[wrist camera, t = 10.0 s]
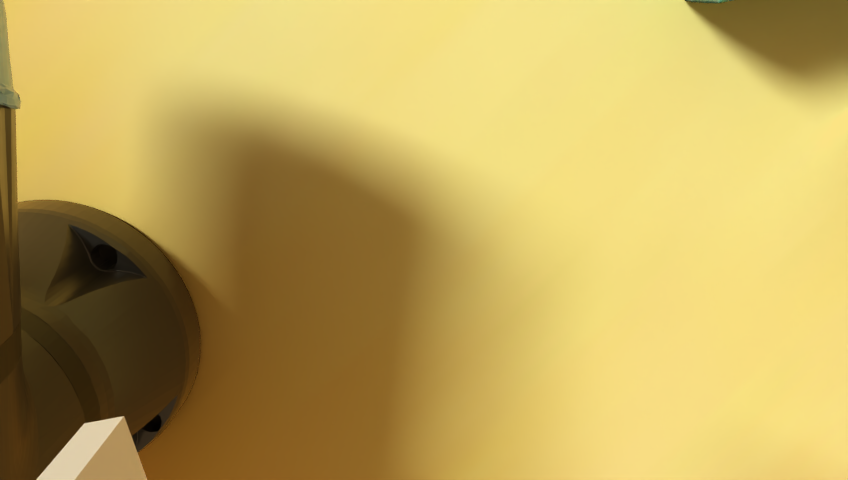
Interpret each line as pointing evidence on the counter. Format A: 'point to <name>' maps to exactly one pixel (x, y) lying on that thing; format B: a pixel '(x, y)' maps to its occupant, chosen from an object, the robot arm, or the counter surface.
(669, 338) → the counter surface
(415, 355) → the counter surface
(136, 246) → the robot arm
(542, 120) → the counter surface
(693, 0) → the box
